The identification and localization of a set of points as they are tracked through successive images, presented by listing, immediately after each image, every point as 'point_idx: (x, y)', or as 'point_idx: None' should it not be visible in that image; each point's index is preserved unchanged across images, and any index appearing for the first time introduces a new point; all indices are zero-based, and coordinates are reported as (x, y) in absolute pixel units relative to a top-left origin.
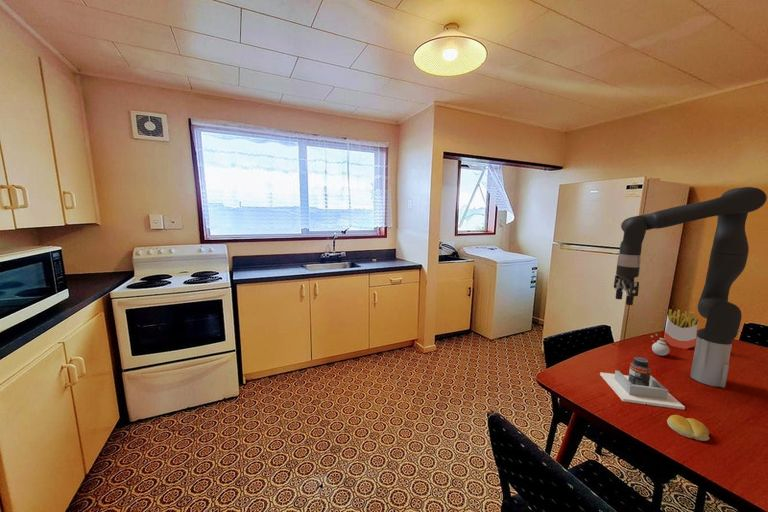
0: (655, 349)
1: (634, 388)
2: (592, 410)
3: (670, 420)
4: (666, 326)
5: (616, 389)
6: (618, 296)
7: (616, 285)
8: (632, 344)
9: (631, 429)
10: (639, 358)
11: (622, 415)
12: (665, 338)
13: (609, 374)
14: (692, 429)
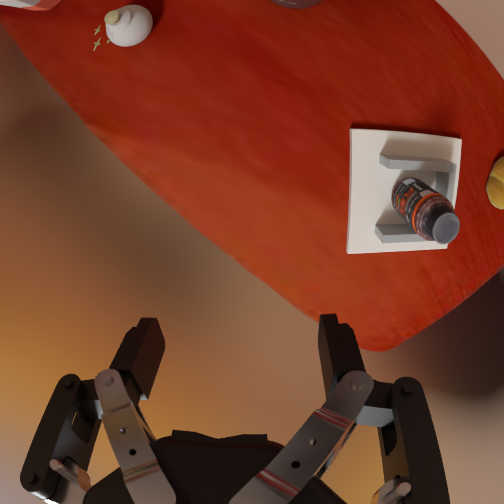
0: (139, 40)
1: None
2: (460, 300)
3: (502, 208)
4: (20, 3)
5: (419, 247)
6: (155, 351)
7: (81, 416)
8: (83, 87)
9: (495, 263)
10: (441, 230)
11: (473, 262)
12: (48, 7)
13: (355, 235)
14: None
